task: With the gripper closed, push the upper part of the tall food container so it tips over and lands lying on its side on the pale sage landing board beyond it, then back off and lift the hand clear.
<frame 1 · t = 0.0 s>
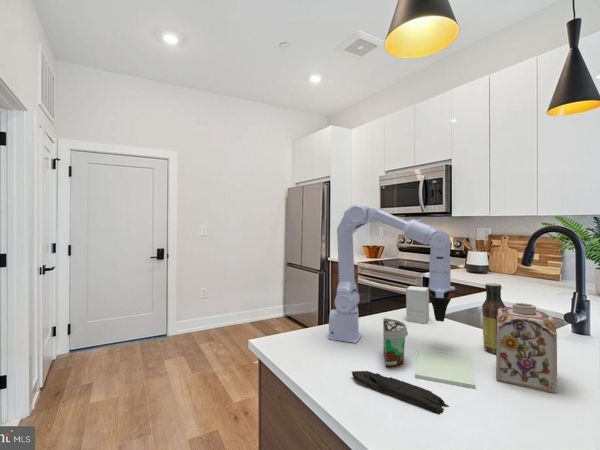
hand: (439, 317, 95), 10 cm above the countertop, fingers open, 7 cm apart
supplement box: (417, 320, 125), on the countertop
wood: (395, 392, 73), on the countertop
food container: (396, 361, 88), on the countertop
sauce bottle: (494, 351, 95), on the countertop
decorative jar: (523, 378, 79), on the countertop
landing board: (443, 367, 84), on the countertop
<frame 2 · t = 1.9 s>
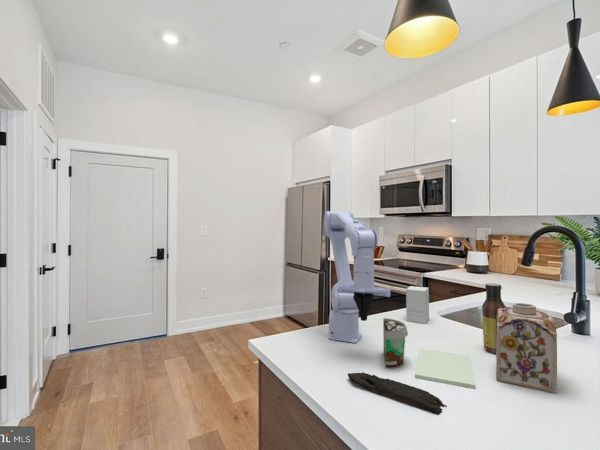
hand: (364, 319, 91), 10 cm above the countertop, fingers closed
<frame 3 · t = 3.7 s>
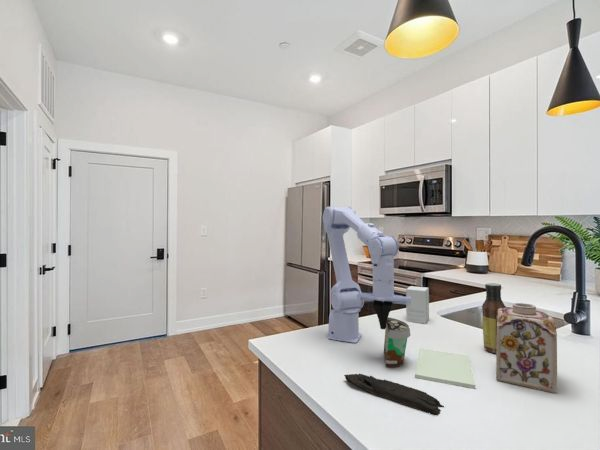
hand: (383, 328, 89), 9 cm above the countertop, fingers closed
food container: (395, 361, 88), on the countertop, touching gripper
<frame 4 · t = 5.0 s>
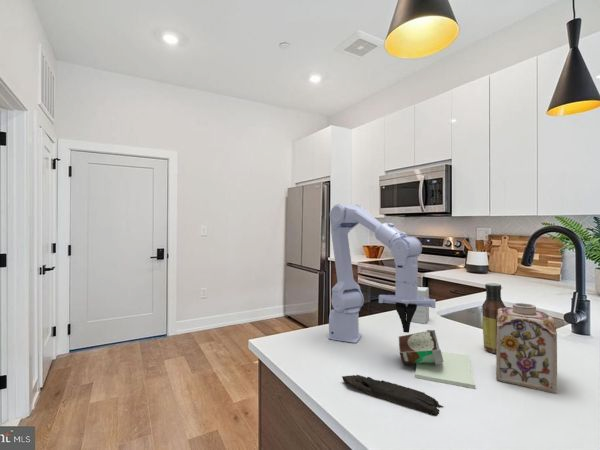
hand: (406, 331, 87), 9 cm above the countertop, fingers closed
food container: (401, 354, 88), point 2 cm above the countertop, touching landing board
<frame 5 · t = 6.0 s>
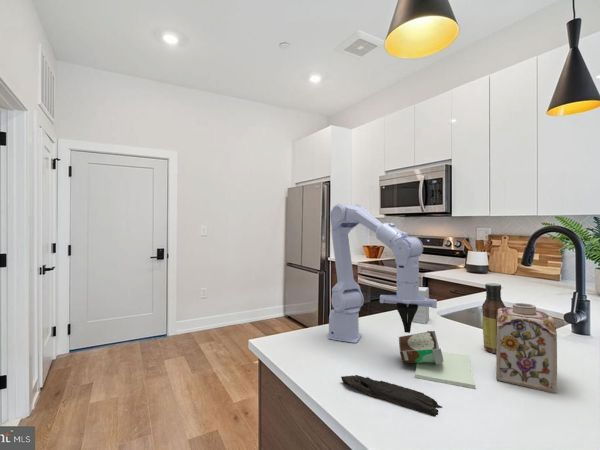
hand: (407, 331, 87), 8 cm above the countertop, fingers closed
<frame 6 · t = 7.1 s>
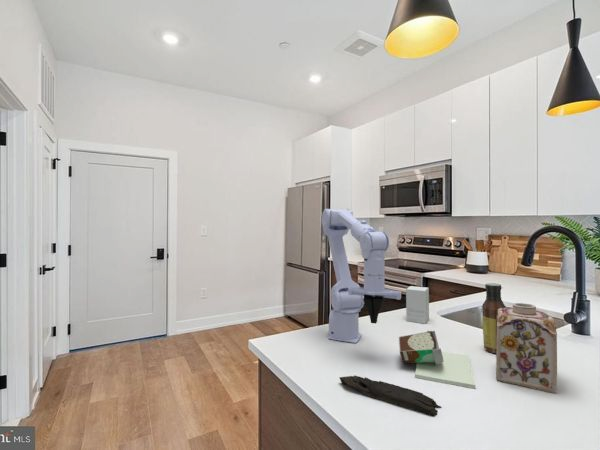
hand: (374, 322, 91), 10 cm above the countertop, fingers closed
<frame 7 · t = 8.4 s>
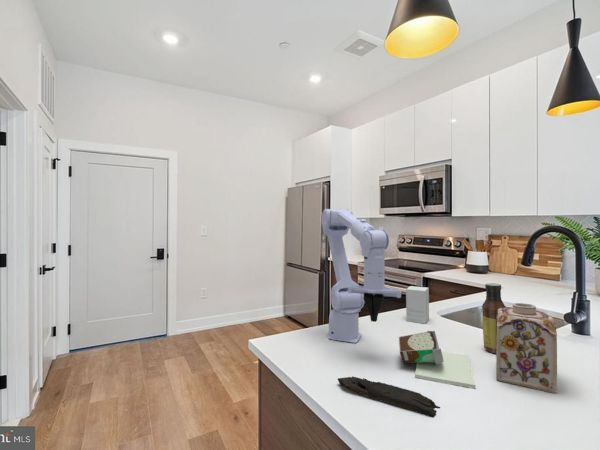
hand: (374, 320, 90), 10 cm above the countertop, fingers closed
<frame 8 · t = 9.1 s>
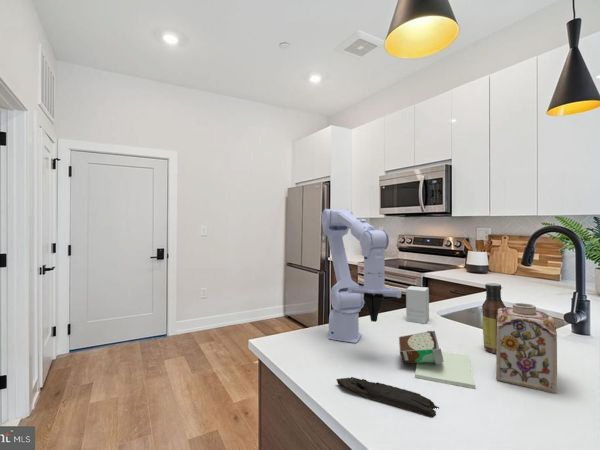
hand: (374, 320, 90), 10 cm above the countertop, fingers closed
at the end: food container tilted 77°; food container inside the target area (5.7 cm from its centre), point 1.8 cm above the countertop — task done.
